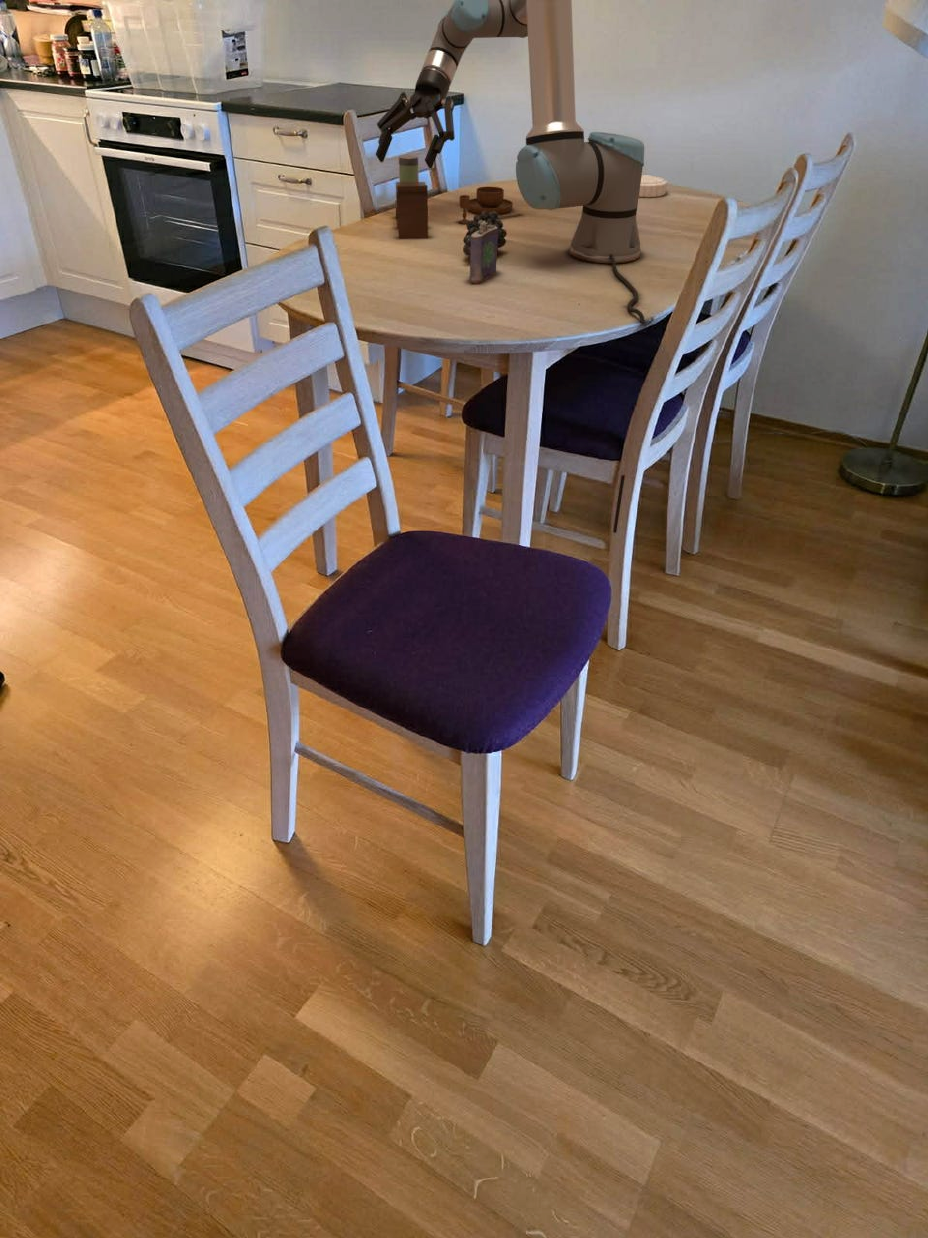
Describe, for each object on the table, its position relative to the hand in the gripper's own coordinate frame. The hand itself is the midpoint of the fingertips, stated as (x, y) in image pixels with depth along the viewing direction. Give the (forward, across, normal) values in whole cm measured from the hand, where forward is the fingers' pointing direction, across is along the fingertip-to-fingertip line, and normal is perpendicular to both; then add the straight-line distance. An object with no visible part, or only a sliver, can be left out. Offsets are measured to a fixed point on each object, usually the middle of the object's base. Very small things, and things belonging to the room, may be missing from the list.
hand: (403, 161), depth 196 cm
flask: (+30, -37, +10) cm, 49 cm away
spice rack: (+12, -4, -7) cm, 14 cm away
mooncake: (-35, -38, -54) cm, 75 cm away
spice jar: (+5, 0, -8) cm, 10 cm away
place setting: (-4, -10, -23) cm, 25 cm away
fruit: (+21, -29, +1) cm, 36 cm away
